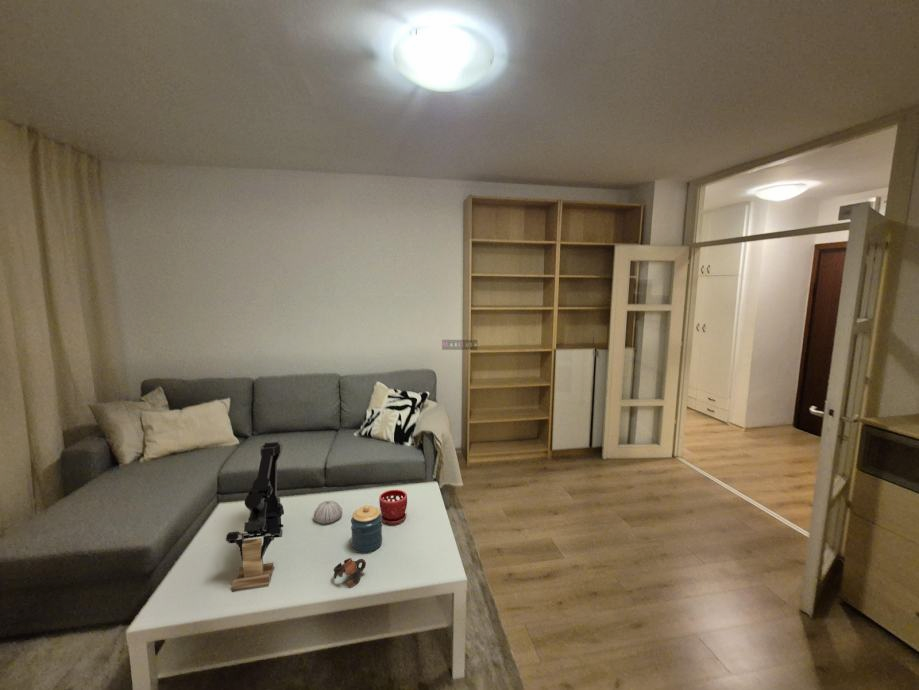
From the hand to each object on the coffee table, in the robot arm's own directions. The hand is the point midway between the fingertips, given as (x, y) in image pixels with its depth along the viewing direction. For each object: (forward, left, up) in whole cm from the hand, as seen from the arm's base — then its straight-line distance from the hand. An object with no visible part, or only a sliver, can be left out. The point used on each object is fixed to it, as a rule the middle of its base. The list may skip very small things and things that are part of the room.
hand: (251, 559), depth 147 cm
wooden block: (-1, -1, -7) cm, 7 cm away
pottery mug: (-21, +29, -9) cm, 37 cm away
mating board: (-1, -1, -9) cm, 9 cm away
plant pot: (-60, +17, -9) cm, 63 cm away
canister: (-39, +20, -9) cm, 45 cm away
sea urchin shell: (-44, -10, -9) cm, 46 cm away
